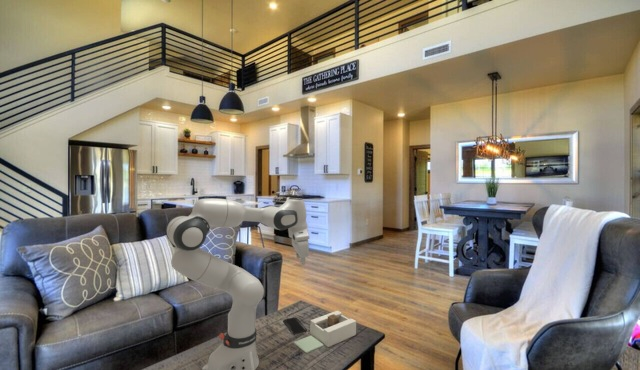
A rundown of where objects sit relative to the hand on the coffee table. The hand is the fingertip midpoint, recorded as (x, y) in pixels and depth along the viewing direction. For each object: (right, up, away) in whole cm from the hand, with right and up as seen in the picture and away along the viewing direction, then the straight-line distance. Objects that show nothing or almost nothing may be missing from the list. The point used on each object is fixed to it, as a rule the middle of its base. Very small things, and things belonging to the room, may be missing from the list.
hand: (300, 260), depth 141 cm
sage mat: (+4, -39, 0) cm, 39 cm away
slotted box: (+16, -39, +9) cm, 43 cm away
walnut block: (+16, -37, +9) cm, 41 cm away
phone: (-4, -39, +16) cm, 42 cm away
